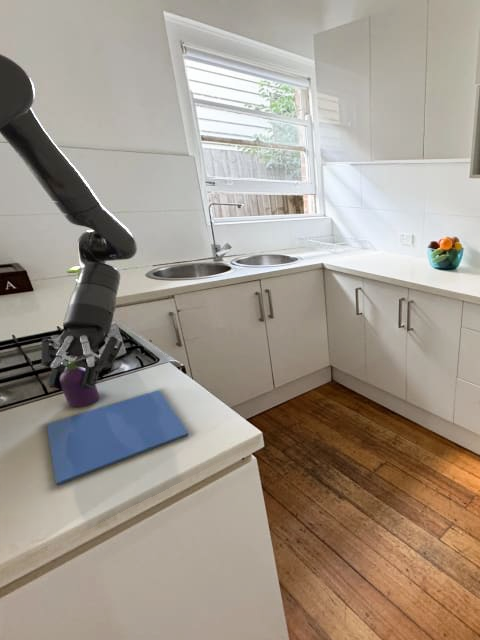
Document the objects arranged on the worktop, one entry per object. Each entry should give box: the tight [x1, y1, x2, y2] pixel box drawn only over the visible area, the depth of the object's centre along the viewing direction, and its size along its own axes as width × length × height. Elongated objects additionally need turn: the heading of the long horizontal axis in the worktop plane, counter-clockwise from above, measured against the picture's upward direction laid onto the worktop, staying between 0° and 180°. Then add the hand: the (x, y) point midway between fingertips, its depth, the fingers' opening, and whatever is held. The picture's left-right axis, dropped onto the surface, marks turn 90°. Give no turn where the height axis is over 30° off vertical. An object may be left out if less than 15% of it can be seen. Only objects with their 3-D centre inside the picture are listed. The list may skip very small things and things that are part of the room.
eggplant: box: [59, 361, 101, 408], centre depth 76 cm, size 5×5×9 cm
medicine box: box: [100, 321, 127, 359], centre depth 95 cm, size 8×4×9 cm, turn 77°
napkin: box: [46, 390, 189, 486], centre depth 69 cm, size 20×18×1 cm
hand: (71, 387), depth 74 cm, fingers closed on eggplant, 5 cm apart
